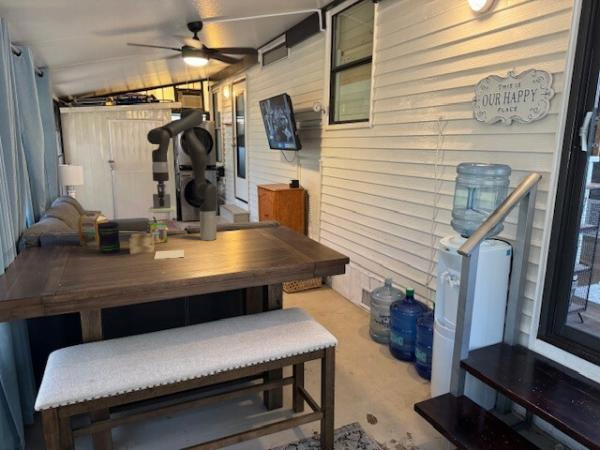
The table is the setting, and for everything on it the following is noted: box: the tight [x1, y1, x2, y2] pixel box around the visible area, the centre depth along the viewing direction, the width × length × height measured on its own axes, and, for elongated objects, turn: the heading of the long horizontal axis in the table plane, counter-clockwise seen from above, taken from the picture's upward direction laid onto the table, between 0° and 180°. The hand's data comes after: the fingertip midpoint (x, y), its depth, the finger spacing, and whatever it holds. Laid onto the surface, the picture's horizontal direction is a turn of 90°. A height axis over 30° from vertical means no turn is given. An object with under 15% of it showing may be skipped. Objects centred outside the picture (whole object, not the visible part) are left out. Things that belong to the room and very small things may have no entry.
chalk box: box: [146, 216, 168, 244], centre depth 231 cm, size 9×9×15 cm
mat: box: [153, 249, 185, 260], centre depth 204 cm, size 14×14×1 cm
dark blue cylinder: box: [98, 221, 121, 255], centre depth 207 cm, size 10×10×15 cm
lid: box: [147, 193, 177, 214], centre depth 200 cm, size 12×12×9 cm
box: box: [128, 233, 155, 255], centre depth 210 cm, size 11×11×8 cm
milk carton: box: [77, 209, 109, 248], centre depth 222 cm, size 11×11×19 cm
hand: (162, 205), depth 200 cm, fingers closed on lid, 3 cm apart
